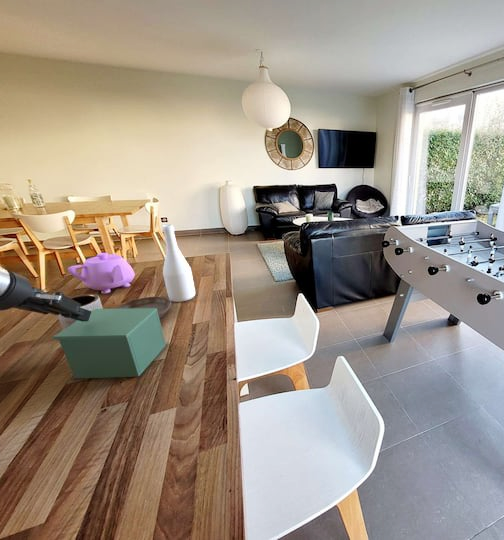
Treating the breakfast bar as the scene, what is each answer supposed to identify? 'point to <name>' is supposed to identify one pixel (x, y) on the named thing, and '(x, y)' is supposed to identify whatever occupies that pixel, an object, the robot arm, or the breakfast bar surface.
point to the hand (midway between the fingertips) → (86, 316)
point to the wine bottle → (176, 270)
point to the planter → (86, 303)
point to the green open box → (115, 352)
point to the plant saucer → (149, 304)
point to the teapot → (104, 272)
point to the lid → (107, 324)
